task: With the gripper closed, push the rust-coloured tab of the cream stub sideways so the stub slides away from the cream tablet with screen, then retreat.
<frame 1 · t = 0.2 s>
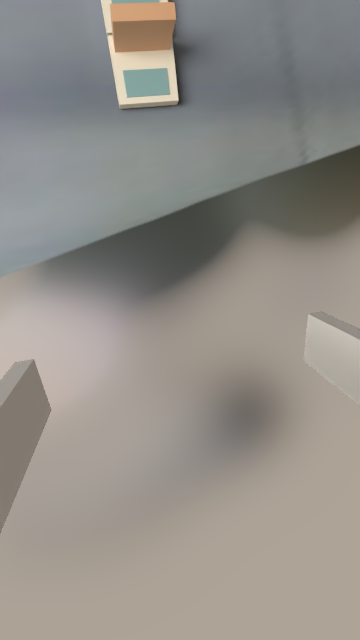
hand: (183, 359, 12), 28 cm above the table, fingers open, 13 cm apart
stub: (145, 60, 27), point 3 cm above the table, slide at 0.0 cm
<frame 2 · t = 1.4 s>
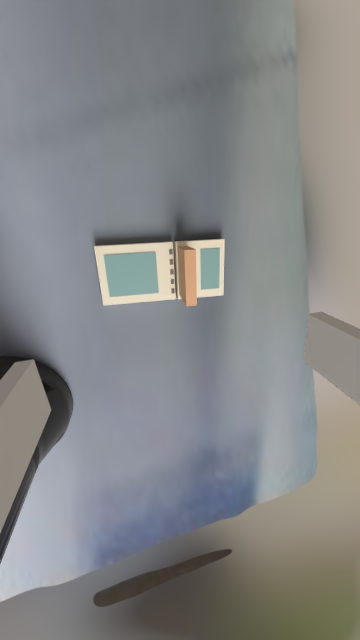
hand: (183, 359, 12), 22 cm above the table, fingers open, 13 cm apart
cream tablet with screen: (137, 272, 32), on the table
stub: (204, 272, 30), point 3 cm above the table, slide at 0.0 cm
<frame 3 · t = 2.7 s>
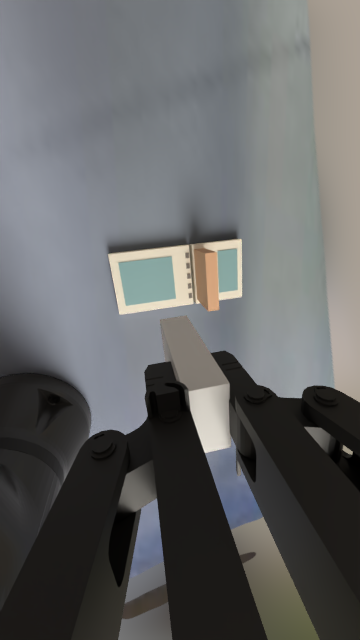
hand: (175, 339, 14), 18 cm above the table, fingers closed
cream tablet with screen: (152, 278, 31), on the table
stub: (223, 274, 29), point 3 cm above the table, slide at 0.0 cm
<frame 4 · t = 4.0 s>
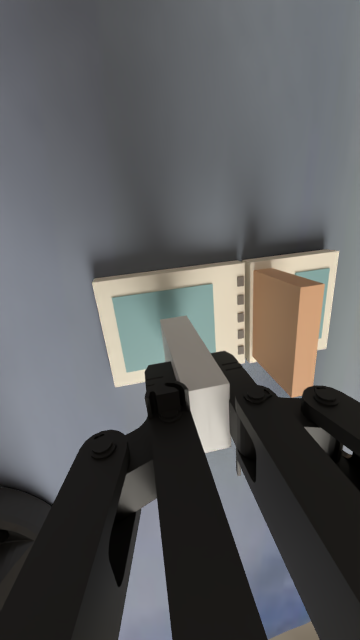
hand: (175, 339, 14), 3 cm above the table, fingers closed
cream tablet with screen: (174, 320, 17), on the table
stub: (308, 318, 15), point 3 cm above the table, slide at 0.0 cm
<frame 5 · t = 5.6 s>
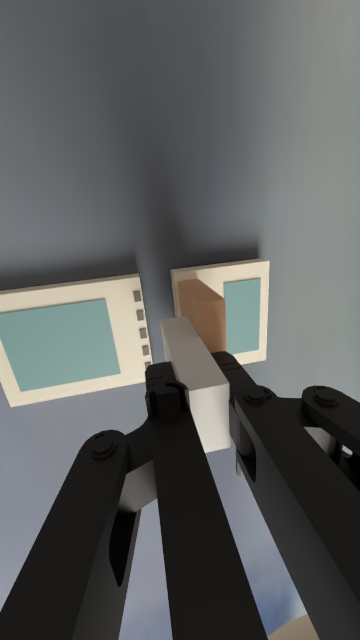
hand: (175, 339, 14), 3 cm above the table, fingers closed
cream tablet with screen: (76, 336, 16), on the table
stub: (234, 331, 15), point 3 cm above the table, slide at 1.7 cm, touching gripper
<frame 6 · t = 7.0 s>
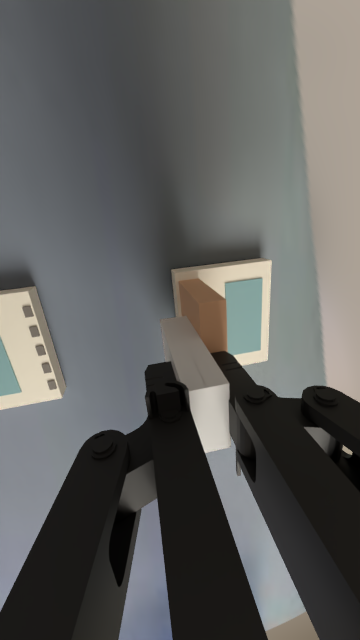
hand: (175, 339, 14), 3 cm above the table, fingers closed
stub: (236, 331, 15), point 3 cm above the table, slide at 7.6 cm, touching gripper
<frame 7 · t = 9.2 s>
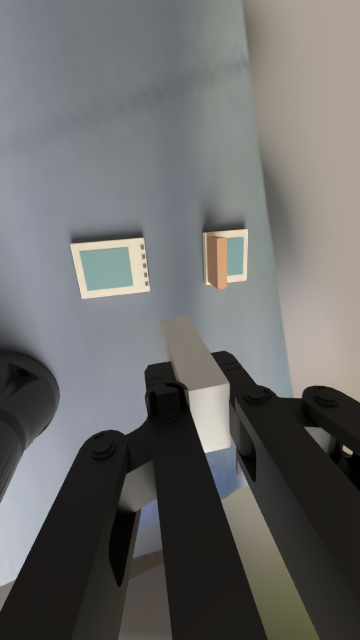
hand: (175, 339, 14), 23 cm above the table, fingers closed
cream tablet with screen: (112, 267, 34), on the table
stub: (231, 259, 34), point 3 cm above the table, slide at 7.7 cm
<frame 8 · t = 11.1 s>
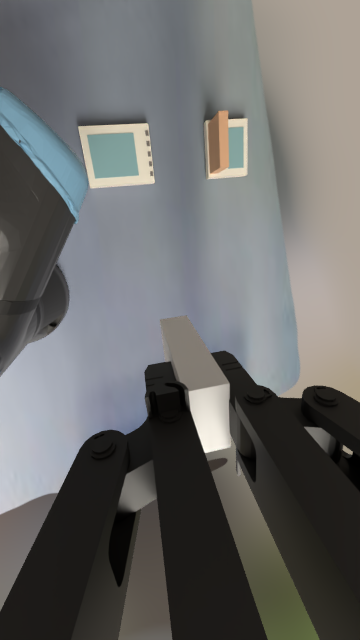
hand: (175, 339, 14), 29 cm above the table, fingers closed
cream tablet with screen: (118, 158, 36), on the table
stub: (231, 145, 35), point 3 cm above the table, slide at 7.7 cm
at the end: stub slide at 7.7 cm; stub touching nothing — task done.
